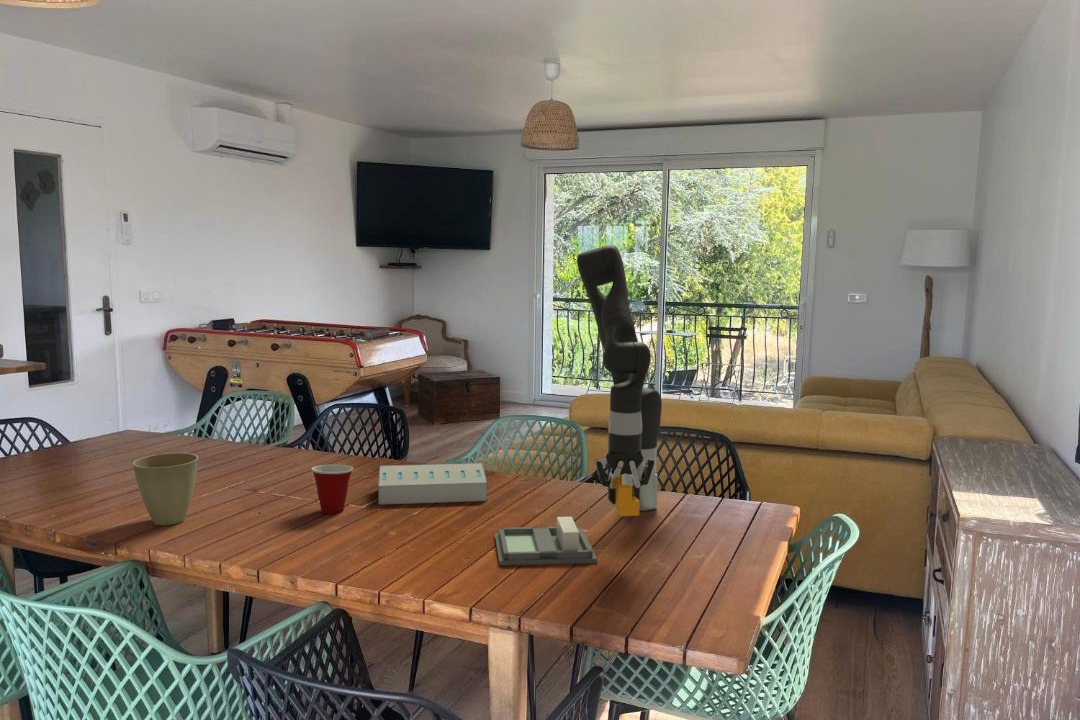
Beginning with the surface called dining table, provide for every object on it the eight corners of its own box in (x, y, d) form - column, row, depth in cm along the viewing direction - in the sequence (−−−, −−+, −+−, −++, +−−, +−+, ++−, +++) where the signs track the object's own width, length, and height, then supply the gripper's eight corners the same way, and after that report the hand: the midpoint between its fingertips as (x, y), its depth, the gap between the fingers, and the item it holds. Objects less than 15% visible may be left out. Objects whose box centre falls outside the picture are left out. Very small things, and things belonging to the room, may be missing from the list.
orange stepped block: (639, 515, 175) (639, 487, 174) (620, 516, 174) (620, 488, 173) (626, 498, 186) (627, 472, 185) (608, 499, 186) (609, 472, 185)
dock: (583, 535, 195) (584, 511, 194) (597, 562, 177) (597, 537, 176) (495, 537, 192) (495, 513, 191) (499, 565, 174) (499, 539, 174)
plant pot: (187, 507, 210) (185, 449, 208) (210, 521, 199) (207, 460, 197) (127, 520, 200) (124, 458, 198) (147, 535, 189) (144, 470, 187)
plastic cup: (361, 506, 213) (361, 463, 212) (339, 519, 203) (339, 474, 202) (326, 502, 217) (326, 460, 215) (303, 514, 206) (302, 469, 205)
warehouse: (378, 506, 216) (378, 479, 215) (379, 490, 230) (379, 465, 229) (487, 502, 221) (487, 475, 220) (482, 487, 235) (482, 462, 234)
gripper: (651, 425, 182) (649, 496, 185) (591, 426, 180) (589, 498, 183) (660, 433, 175) (658, 507, 177) (597, 434, 173) (596, 509, 175)
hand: (623, 502), depth 180 cm, fingers closed on orange stepped block, 4 cm apart
